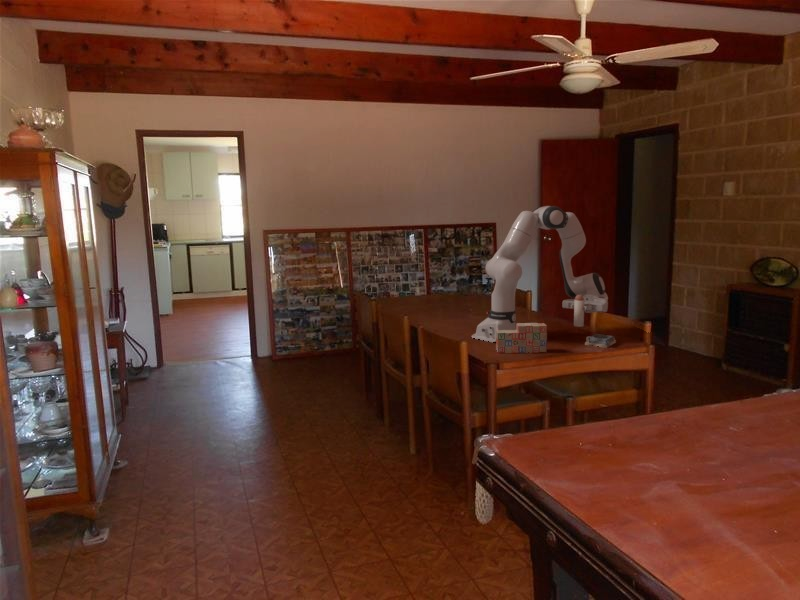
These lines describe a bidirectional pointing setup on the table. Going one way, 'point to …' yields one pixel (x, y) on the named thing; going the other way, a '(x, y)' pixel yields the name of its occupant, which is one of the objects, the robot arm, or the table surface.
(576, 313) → the fuselage
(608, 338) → the jig
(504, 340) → the stack of blocks
